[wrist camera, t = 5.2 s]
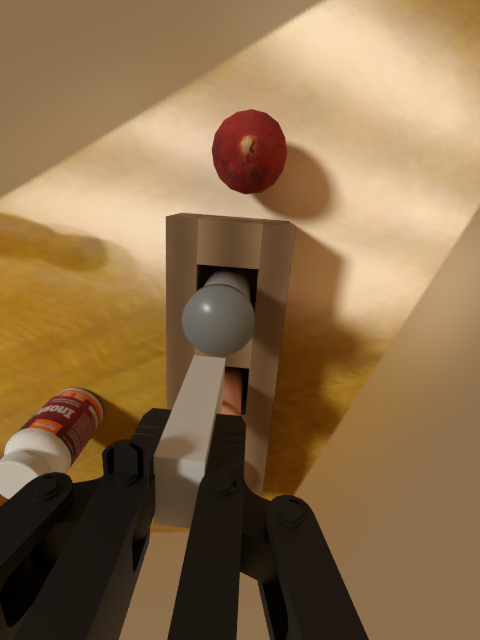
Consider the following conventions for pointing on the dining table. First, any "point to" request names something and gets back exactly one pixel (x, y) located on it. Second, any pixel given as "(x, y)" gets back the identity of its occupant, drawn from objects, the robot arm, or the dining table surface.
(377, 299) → the dining table surface
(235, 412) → the plug terracotta
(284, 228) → the socket block
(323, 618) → the robot arm
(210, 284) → the plug blue-grey
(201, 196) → the dining table surface
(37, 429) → the pill bottle
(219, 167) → the onion
